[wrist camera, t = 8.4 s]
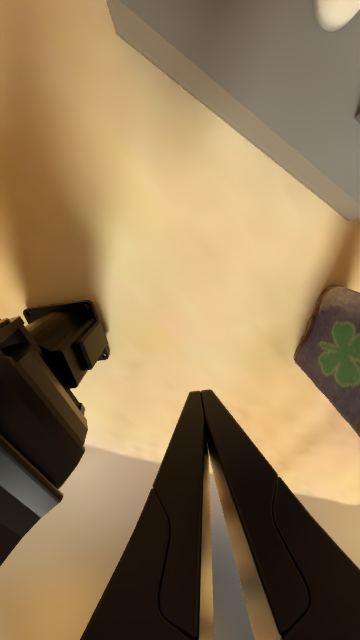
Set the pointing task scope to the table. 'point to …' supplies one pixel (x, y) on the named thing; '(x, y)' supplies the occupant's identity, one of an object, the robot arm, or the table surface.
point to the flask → (335, 351)
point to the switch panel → (267, 77)
